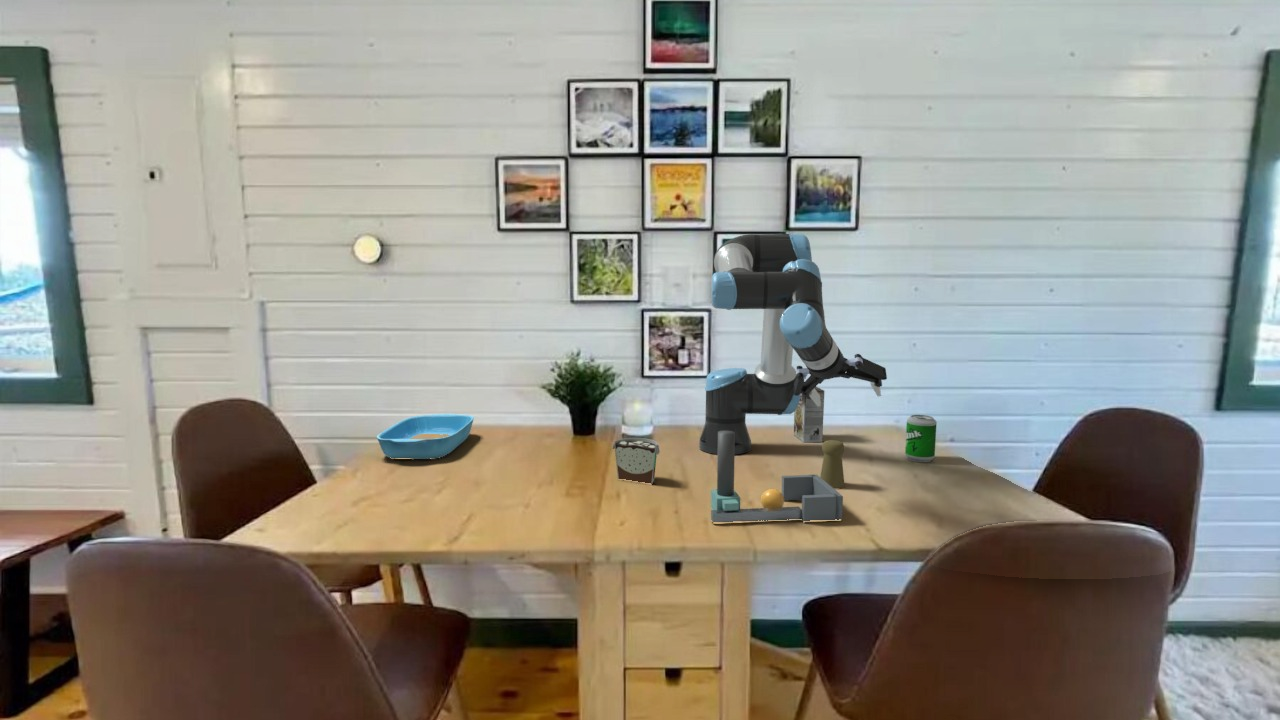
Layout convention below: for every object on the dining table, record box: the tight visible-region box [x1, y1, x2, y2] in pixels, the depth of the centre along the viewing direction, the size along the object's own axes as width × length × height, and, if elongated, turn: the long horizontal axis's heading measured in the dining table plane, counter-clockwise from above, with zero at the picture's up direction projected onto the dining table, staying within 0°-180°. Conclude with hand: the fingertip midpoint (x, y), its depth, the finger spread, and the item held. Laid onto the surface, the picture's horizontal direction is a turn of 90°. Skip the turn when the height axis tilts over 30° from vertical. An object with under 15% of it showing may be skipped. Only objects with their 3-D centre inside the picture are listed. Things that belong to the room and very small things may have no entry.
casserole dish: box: [376, 413, 475, 460], centre depth 203 cm, size 37×22×7 cm, turn 179°
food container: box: [612, 437, 661, 485], centre depth 171 cm, size 12×6×10 cm, turn 65°
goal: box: [781, 474, 844, 521], centre depth 150 cm, size 8×15×6 cm, turn 6°
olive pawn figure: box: [819, 439, 845, 489], centre depth 166 cm, size 6×6×11 cm
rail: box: [710, 505, 802, 522], centre depth 143 cm, size 19×2×2 cm, turn 96°
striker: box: [710, 431, 741, 511], centre depth 145 cm, size 5×8×18 cm, turn 6°
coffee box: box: [793, 386, 825, 443], centre depth 210 cm, size 9×6×16 cm
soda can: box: [904, 414, 938, 463], centre depth 187 cm, size 8×8×12 cm
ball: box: [760, 488, 785, 508], centre depth 149 cm, size 5×5×5 cm
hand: (848, 396), depth 156 cm, fingers open, 13 cm apart
